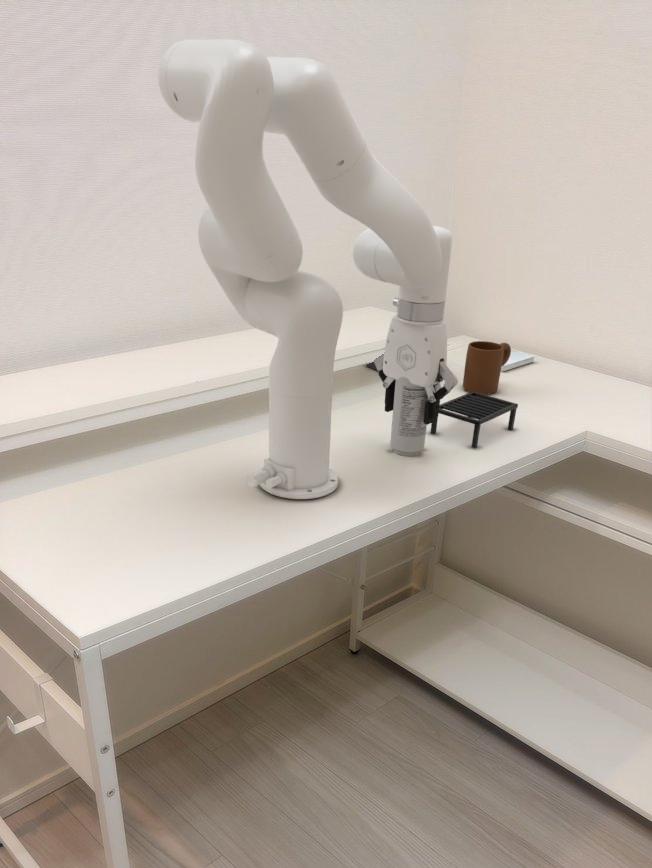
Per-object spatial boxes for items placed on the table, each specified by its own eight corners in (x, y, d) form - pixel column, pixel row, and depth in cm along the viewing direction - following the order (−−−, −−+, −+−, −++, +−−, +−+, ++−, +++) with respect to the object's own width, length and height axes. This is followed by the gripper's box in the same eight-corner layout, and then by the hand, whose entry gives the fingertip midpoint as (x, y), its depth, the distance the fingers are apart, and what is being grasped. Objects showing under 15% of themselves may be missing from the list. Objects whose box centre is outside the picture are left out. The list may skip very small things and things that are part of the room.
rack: (475, 448, 144) (479, 421, 142) (429, 433, 149) (432, 407, 147) (513, 429, 154) (518, 403, 151) (469, 415, 159) (473, 391, 156)
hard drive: (506, 348, 196) (476, 356, 189) (534, 355, 192) (505, 364, 184) (505, 355, 197) (475, 363, 190) (533, 362, 193) (504, 371, 185)
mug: (491, 378, 180) (497, 336, 175) (517, 388, 175) (525, 344, 170) (454, 387, 173) (460, 343, 168) (481, 397, 168) (488, 352, 163)
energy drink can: (419, 444, 145) (428, 361, 137) (426, 457, 140) (436, 371, 132) (387, 444, 144) (394, 360, 136) (392, 457, 139) (400, 371, 131)
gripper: (364, 304, 131) (357, 408, 141) (453, 325, 122) (440, 435, 131) (391, 297, 136) (383, 398, 145) (479, 317, 127) (464, 424, 136)
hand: (410, 415), depth 138 cm, fingers open, 7 cm apart
